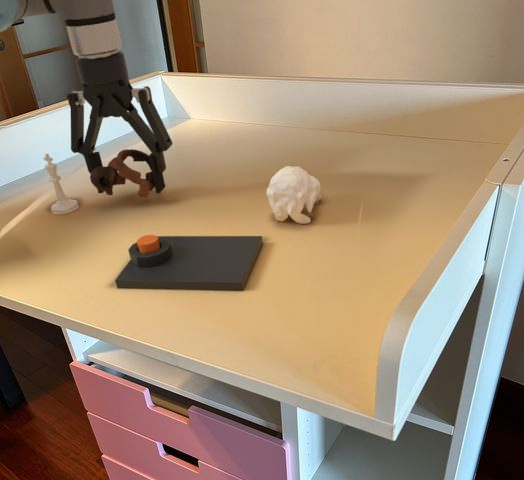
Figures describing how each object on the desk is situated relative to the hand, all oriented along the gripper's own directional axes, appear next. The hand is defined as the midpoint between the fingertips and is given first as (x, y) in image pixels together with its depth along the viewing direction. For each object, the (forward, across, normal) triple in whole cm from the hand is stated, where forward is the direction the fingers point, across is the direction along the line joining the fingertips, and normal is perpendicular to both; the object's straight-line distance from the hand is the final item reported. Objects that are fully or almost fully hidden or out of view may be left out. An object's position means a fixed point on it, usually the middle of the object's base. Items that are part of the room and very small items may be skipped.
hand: (131, 190), depth 101 cm
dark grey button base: (+2, -18, +23) cm, 29 cm away
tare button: (-1, -12, +23) cm, 26 cm away
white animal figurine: (+2, -31, +6) cm, 32 cm away
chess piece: (+2, +13, +3) cm, 13 cm away
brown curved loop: (+1, +1, 0) cm, 1 cm away
